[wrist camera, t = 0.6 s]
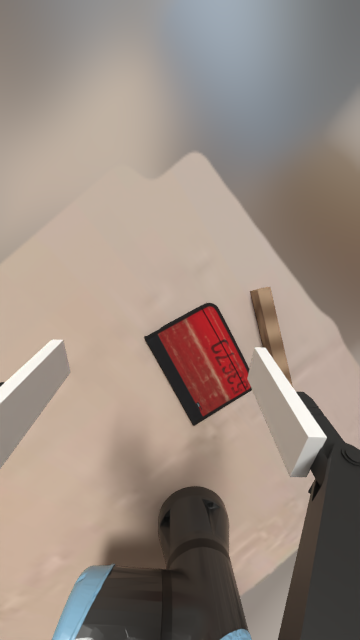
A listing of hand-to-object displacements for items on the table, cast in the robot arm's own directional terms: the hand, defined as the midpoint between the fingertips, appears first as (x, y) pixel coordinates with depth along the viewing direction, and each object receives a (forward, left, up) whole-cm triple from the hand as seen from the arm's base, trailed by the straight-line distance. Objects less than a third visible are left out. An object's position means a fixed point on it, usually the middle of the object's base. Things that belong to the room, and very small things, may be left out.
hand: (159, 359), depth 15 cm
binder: (-10, -6, -28) cm, 31 cm away
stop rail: (-10, -20, -28) cm, 35 cm away
